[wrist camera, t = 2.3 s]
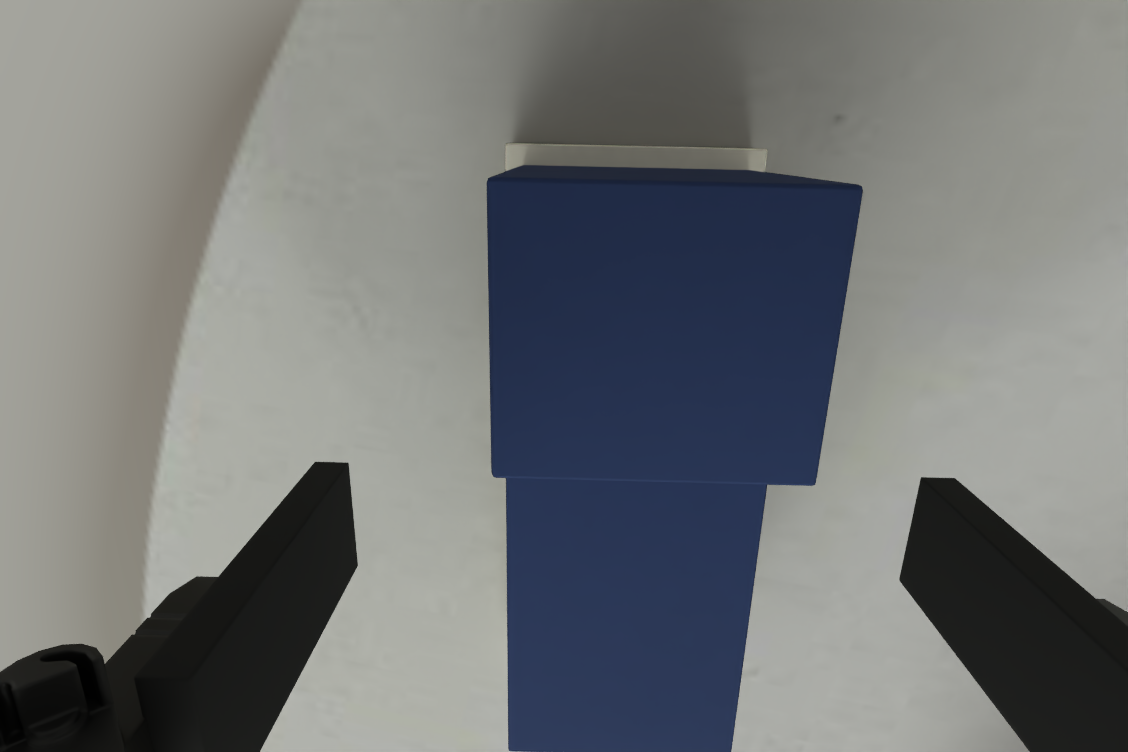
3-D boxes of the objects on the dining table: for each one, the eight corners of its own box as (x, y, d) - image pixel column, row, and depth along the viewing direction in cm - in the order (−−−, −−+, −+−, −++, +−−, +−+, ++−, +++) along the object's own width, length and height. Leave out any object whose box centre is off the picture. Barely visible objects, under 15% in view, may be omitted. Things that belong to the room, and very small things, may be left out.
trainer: (510, 143, 18) (457, 139, 10) (751, 148, 18) (899, 149, 10) (513, 634, 23) (480, 898, 15) (699, 639, 23) (766, 907, 15)
